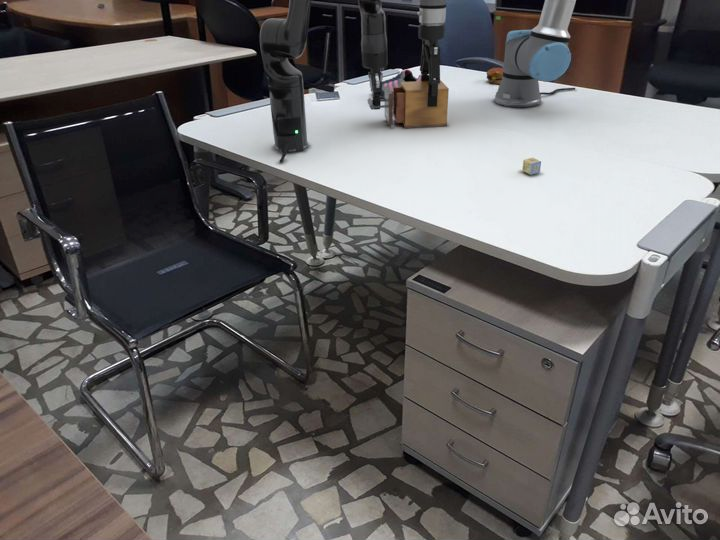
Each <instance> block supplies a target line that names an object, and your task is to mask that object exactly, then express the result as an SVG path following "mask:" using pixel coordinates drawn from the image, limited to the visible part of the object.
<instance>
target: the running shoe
mask: <svg viewBox="0 0 720 540" xmlns="http://www.w3.org/2000/svg"><path fill="white" fill-rule="evenodd" d="M414 81H421V74H419V75H418V77H416V76H414V75H413V72H412V71H411V70H410V69H404V70H402V71H400V73H398V74H397V75H396V76H394V77H391V78H388V79H385V80H382V83H383V85H382V95H381V97H380V98H382V99H385V86H389V88H390V90H391V91H392V93H393V87H400V82H414Z"/></svg>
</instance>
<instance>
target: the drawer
mask: <svg viewBox="0 0 720 540" xmlns="http://www.w3.org/2000/svg"><path fill="white" fill-rule="evenodd" d="M380 102H381V103H382V102H383V103H384V105H383V104H381V105H380V106H374V104H373V98H368V99H367V103H368V106H369V108H370V110H371V111H373V110H374V109H375V108H380V109H384V118H385V120H386V122H387V124H388V126H393V125H394V121H395V122H396V124H403V123H405V91H404V90H403V88H402V87H393V93H392V91H391V90H390V88H389V86H385V98H382V99H381V98H380ZM374 111H375V110H374Z"/></svg>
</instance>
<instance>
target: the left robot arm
mask: <svg viewBox="0 0 720 540" xmlns="http://www.w3.org/2000/svg"><path fill="white" fill-rule="evenodd" d="M357 2H358V3H357V4H358V8H359V12H360V27H361V28H360V29H361V36H360V37H361V39H360V46H361V66H362V67H363V68H364V69H370V70H369V71H370V72H369V71H368V73H367V74H368V75H367V76H368V79H369V88H370V92H371V96H372V100H373V104H374V106H380V105H382V104H381V103H382V102H380V99H381V98H382V97H381V95H382V85H383V83H382V81H384V73H383V72H382V71H381V69H382V68H386V67H387V66H388V65H389V57H388V37H387V21H386V14H385V11H384V9H383V7H382V0H357ZM311 6H312V0H289V3H288V11H287V16H286V18H275V17H274V18H273V17H271V18H267V19H266V20H264V21H263V22H262V24H261V27H260V30H259V45H260V53H261V59H262V66H263V72H264V74H265V77H266V79H267V83H268V84H267V85H268V93H269V105H270V113H271V114H270V115H271V124H272V133H273V142H274V144H273V146H274V150H276V151H279V152H280V153H281V157H280V159H279V163H281V164H282V163H283V162H284V160H285V158H286V155H287V153H294V152H296V153H297V152H304V150H305V149H307V148H308V147H309V142H308V131H307V118H306V116H307V115H306V104H305V89H304V88H305V87H304V76H303V73H302V71H301V70H299V69H297V68H296V67H295V66H294V65H292V63H290V61H289V60H290V59H291V60H292V59H293V60H296V59H299V58H300V57H302V55H303V54H304V53H305V50H306V47H307V42H308V37H309V28H310V26H309V25H310V17H311ZM375 110H376V111H377V110H381V108H375V109H374V111H375Z"/></svg>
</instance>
